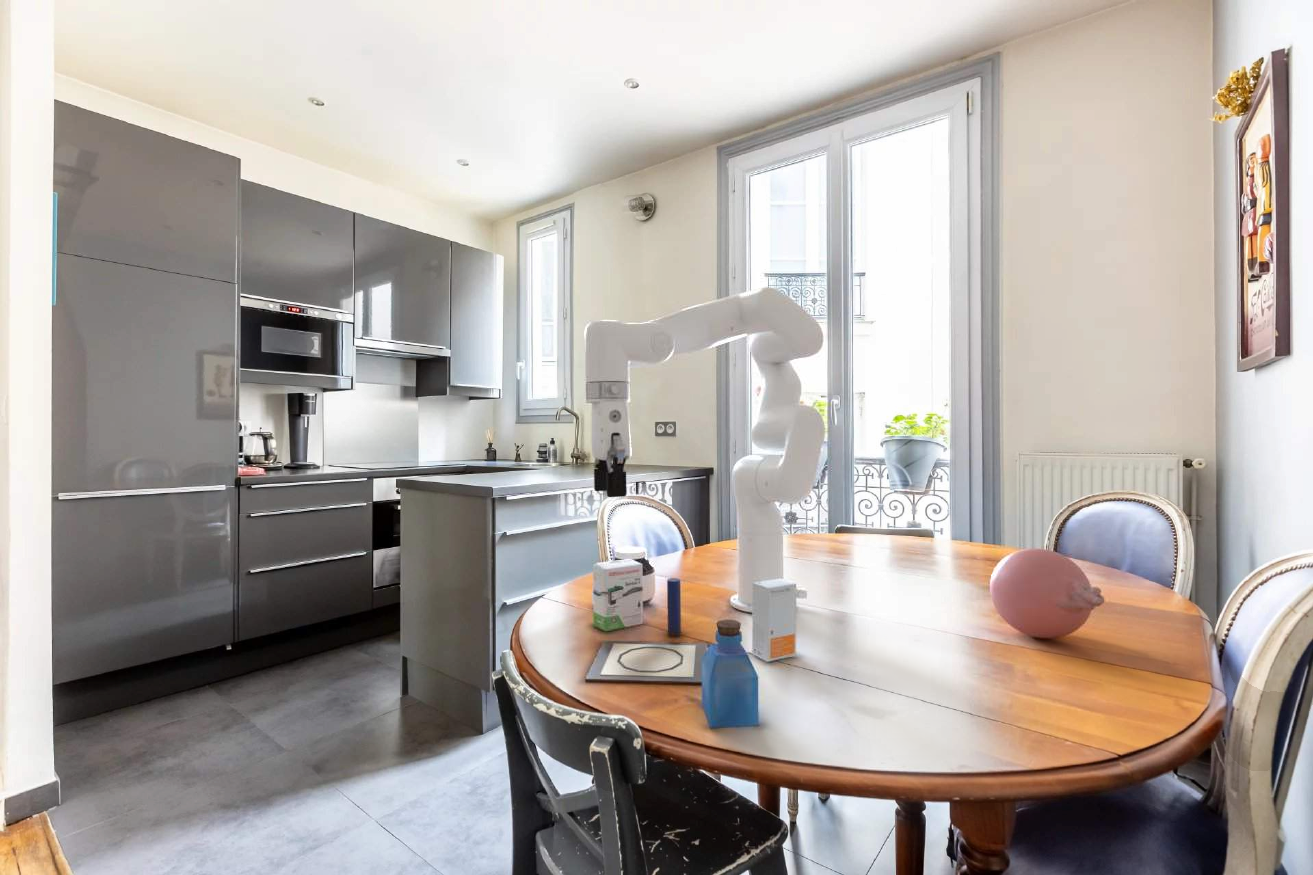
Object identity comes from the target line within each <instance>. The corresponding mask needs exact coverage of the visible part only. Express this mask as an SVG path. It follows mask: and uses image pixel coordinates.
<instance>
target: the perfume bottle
mask: <svg viewBox="0 0 1313 875" xmlns="http://www.w3.org/2000/svg"><path fill="white" fill-rule="evenodd" d="M741 625H742V624H741V622H740V621H738V620H735V619H722V620H721V619H720V620H718V621H716V628H717V629H716V631H715V632H714V633H715V635H714V636H715V642H716V643H710V645H709V646H708V647H707V652H706V653H705V655H704V657H703V658H702V685H701V706H702V709H703V712H704V715H705V718H706V721H707V724H708V726H709V729H715V728H717V729H718V728H734V727H735V728H736V727H754V726H759V721H760V720H759V719H760V718H759V717H760V716H759V675H758V673H757V671H756V669H755V667H754V665H753V663H752V661H751V658H750V656H749V654H748V653H747V650H745V648H744V646H743V644H742V641H743V633H742V631H740V630H741Z"/></svg>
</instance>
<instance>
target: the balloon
mask: <svg viewBox="0 0 1313 875" xmlns="http://www.w3.org/2000/svg"><path fill="white" fill-rule="evenodd" d="M1101 593H1102V589H1101V588H1100V587H1097V586H1092V585H1091V583H1090V580H1089V578H1088V577H1087V575H1086V573H1085V572H1084V571H1083V569H1082V568H1080V566H1079V565H1078V564H1077V563H1075V562H1074V561H1073V560H1072V559H1070V558H1069V557H1067V556H1065V555H1063V554H1061V553H1059V552H1056V551H1053V550H1051V549H1045V548H1036V547H1035V548H1034V547H1033V548H1024V549H1020V550H1017V551H1014V552H1012V553H1010V554H1008V555H1007V556H1005V557H1004V558H1002V559H1001V560H1000V561H999V563H997V565H996V566H995V567H994V569H993V571H992V574H991V577H990V581H989V594H990V598H991V601H992V604H993V606H994V609H995V610H996V612H997V614H998V615H999V616H1000V617H1001V618H1002V620H1004V622H1005V623H1007V624H1008V625H1009V626H1010V627H1012V628H1014V629H1015V630H1017V631H1019V632H1020V633H1022V634H1023V635H1024V634H1025V635H1027V636H1030V637H1033V638H1039V639H1058V638H1062V637H1066V636H1069V635H1071V634H1073V633H1075V632H1076V631H1078V630H1079V629H1080V628H1082V627H1083V625H1084V624H1086V622H1087V620H1088V619H1089V617H1090V615H1091V613H1092V611H1094V610H1095V608H1096V607H1100V606H1103V604H1104V603H1105V600H1106V599H1105V597H1104V596H1103V595H1101Z"/></svg>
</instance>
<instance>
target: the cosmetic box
mask: <svg viewBox="0 0 1313 875" xmlns="http://www.w3.org/2000/svg"><path fill="white" fill-rule="evenodd" d="M796 587H797V583H795V582H791V581H789V580H786V579H784V578H783V579H775V580H766V581H762V582H756V583H753V610H752V616H751V617H752V624H751V626H752V630H751V631H752V633H751V634H752V635H751V636H752V637H751V639H752V640H751V641H752V642H751V654H752V655H753V656H755V657H757V658H759V659H760V660H762V661H765V662H766V663H769V662H772V661H773V662H774V661H777V660H783V659H788V658H794V657H796V655H797V598H796Z"/></svg>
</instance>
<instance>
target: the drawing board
mask: <svg viewBox="0 0 1313 875" xmlns="http://www.w3.org/2000/svg"><path fill="white" fill-rule="evenodd" d="M707 650H708V643H707V642H677V641H676V642H675V641H673V642H672V641H671V642H670V641H629V640H627V641H626V640H623V641H622V640H603V642H602V644H601V646H600V649H599V650H598V652H597V654H596V656H595V659H594V661H593V662H592V664H591V666H590V669H589V670H588V673H587V675H586V677H585V679H584V681H585V682H592V683H593V682H595V683H626V684H627V683H630V684H660V685H661V684H663V685H664V684H665V685H695V686H696V685H700V686H702V658H703V657H704V655H705V653H706V652H707Z"/></svg>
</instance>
